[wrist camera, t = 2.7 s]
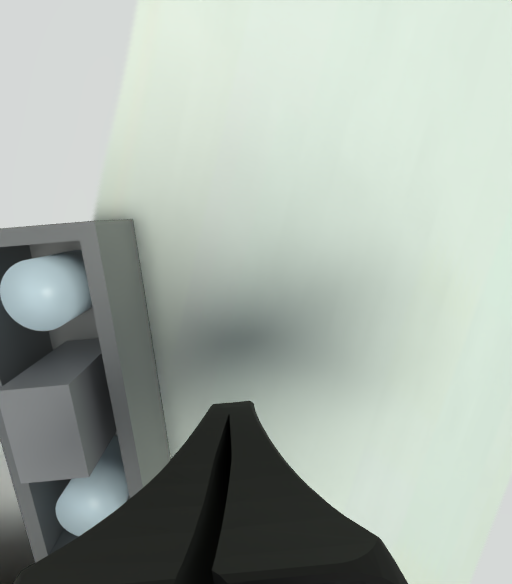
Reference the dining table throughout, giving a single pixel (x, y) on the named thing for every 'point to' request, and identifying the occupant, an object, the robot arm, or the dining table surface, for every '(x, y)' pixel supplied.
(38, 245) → the tray
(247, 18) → the dining table surface
